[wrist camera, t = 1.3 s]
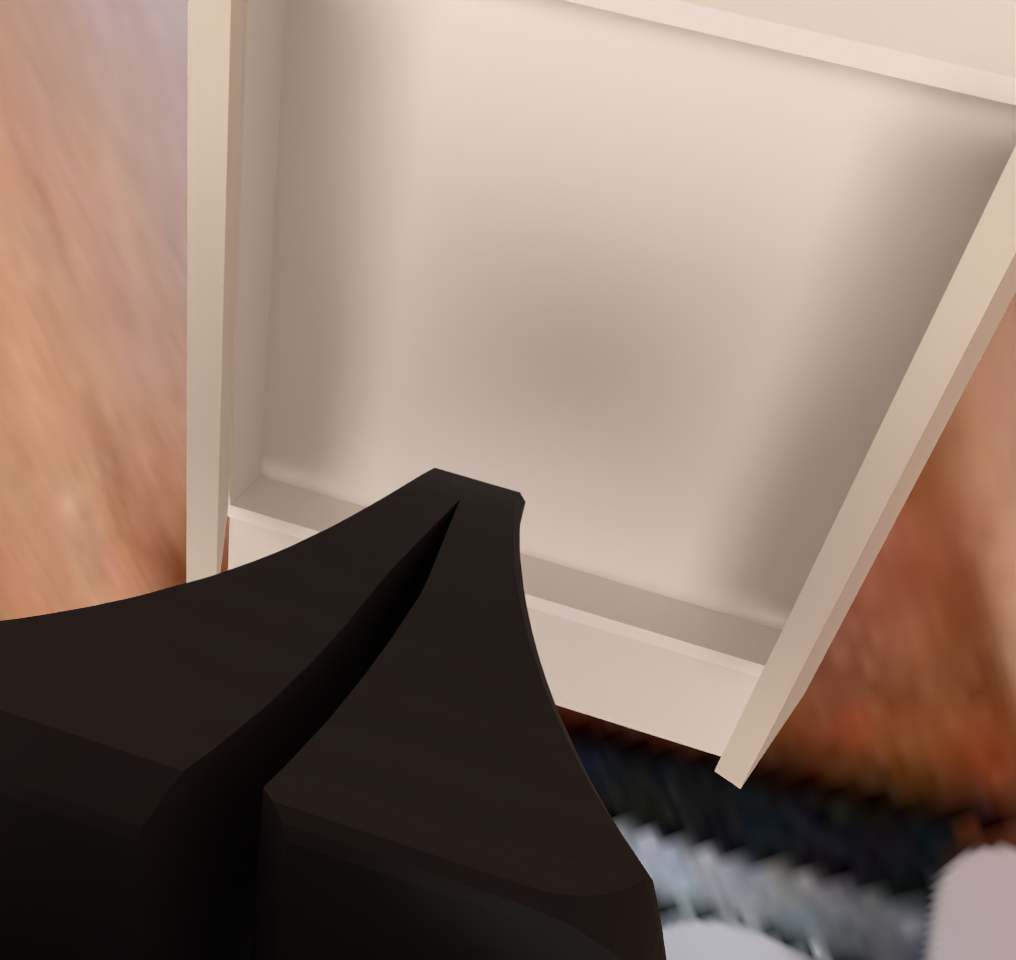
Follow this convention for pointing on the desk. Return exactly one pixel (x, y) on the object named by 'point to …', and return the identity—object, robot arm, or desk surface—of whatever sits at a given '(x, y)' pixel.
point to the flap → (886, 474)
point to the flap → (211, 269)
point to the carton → (603, 293)
